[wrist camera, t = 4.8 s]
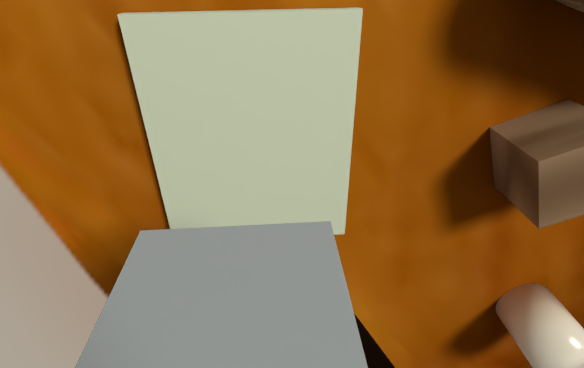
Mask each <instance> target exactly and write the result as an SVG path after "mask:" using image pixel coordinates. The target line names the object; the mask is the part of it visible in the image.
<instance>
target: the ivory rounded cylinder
mask: <svg viewBox="0 0 584 368" xmlns="http://www.w3.org/2000/svg"><path fill="white" fill-rule="evenodd" d="M495 311H496V314H497V315H498V317H499V318H500V320H501V321H502V323H503V324H504V326H505V327H506V329H507V330H508V332H509V333H510V335H511V336H512V338H513V339H514V341H515V342H516V344H517V345H518V347H519V348H520V350H521V351H522V353H523V354H524V356H525V357H526V359H527V360H528V362H529V363H530V365H531V366H532V368H584V329H583V328H582V326H581V325H580V324H579V323H578V322H577V321H576V320H575V319H574V317H573V316H572V315H571V314H570V313H569V312H568V311H567V309H566V308H565V307H564V306H563V305H562V304H561V303H560V302H559V300H558V299H557V298H556V297H555V296H554V295H553V294H552V292H551V291H550V290H549V289H548V288H547V287H546V286H544V285H542V284H536V283H531V284H524V285H521V286H518V287H515V288H513V289H511V290H510V291H508V292H506V293H505V294H504V295H503V296H502V297H501V298H500V299H499V300H498V302H497V304H496V307H495Z"/></svg>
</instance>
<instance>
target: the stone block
mask: <svg viewBox="0 0 584 368" xmlns="http://www.w3.org/2000/svg"><path fill="white" fill-rule="evenodd" d="M555 1H557V2H560V3H562V4H564V5H566V6H569V7H571V8H573V9H576V10H578V11H580V12H583V13H584V0H555Z"/></svg>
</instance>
